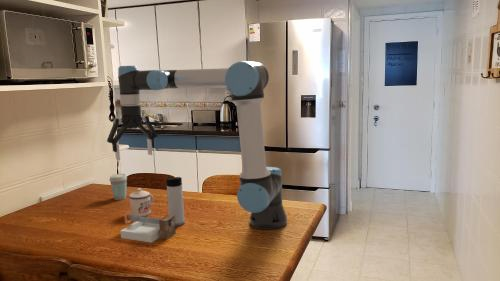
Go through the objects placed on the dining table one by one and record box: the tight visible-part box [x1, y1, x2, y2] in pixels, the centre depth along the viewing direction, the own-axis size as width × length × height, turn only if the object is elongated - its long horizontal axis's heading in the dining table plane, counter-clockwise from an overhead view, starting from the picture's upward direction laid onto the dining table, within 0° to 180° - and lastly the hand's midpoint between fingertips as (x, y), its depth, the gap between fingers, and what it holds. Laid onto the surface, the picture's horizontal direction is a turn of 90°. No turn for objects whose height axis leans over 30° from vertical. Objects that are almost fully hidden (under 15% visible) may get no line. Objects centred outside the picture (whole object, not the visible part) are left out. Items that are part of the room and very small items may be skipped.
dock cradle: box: [120, 221, 160, 243], centre depth 152 cm, size 14×14×3 cm
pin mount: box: [159, 214, 176, 240], centre depth 148 cm, size 3×6×7 cm, turn 158°
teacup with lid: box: [128, 187, 154, 217], centre depth 174 cm, size 12×9×12 cm
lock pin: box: [123, 211, 174, 226], centre depth 150 cm, size 21×4×4 cm, turn 68°
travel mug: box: [165, 176, 186, 227], centre depth 159 cm, size 6×7×20 cm
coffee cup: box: [109, 173, 128, 201], centre depth 196 cm, size 8×8×12 cm
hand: (134, 157), depth 158 cm, fingers open, 13 cm apart
